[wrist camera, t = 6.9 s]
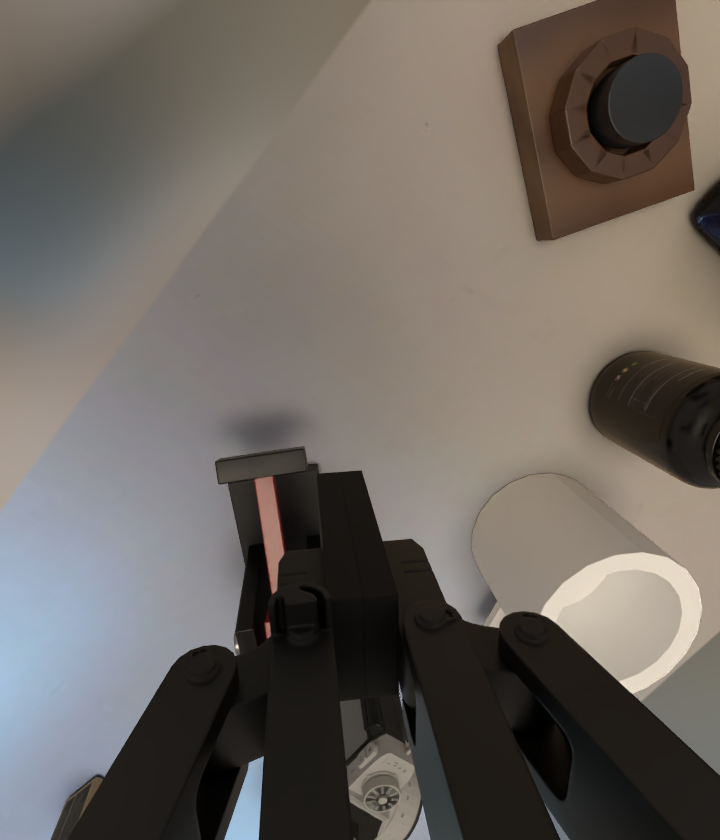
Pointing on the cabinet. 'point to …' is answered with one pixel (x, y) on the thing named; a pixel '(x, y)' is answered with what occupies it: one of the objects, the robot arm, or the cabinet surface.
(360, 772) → the camera
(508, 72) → the switch block
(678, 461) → the supplement bottle
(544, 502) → the mug
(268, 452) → the red lever
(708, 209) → the blue zippered case
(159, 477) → the cabinet surface
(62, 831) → the ink box
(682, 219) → the cabinet surface
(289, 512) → the lever switch
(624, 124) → the button
